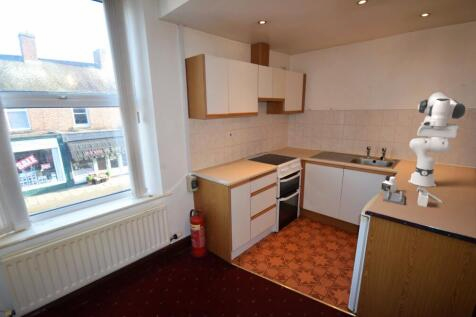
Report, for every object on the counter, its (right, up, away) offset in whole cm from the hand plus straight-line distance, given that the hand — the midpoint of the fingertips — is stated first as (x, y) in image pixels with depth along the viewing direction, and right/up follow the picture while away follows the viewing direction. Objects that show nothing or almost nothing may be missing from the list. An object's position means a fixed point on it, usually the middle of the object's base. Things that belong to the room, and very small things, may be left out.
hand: (434, 143), depth 154 cm
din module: (-8, -41, 0) cm, 42 cm away
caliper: (+6, -39, +11) cm, 41 cm away
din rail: (-21, -38, +9) cm, 44 cm away
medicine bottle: (-16, -36, +23) cm, 45 cm away
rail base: (-21, -39, +9) cm, 45 cm away
